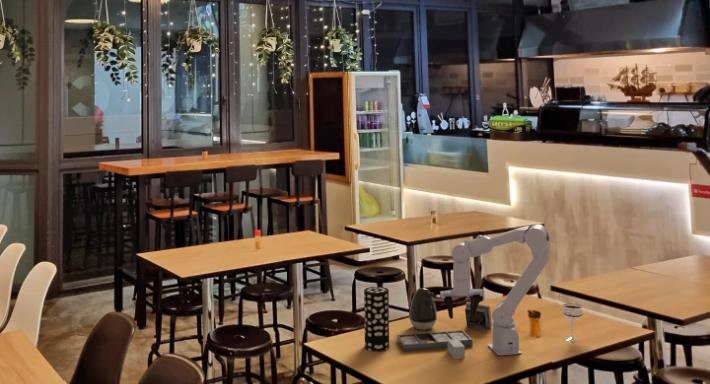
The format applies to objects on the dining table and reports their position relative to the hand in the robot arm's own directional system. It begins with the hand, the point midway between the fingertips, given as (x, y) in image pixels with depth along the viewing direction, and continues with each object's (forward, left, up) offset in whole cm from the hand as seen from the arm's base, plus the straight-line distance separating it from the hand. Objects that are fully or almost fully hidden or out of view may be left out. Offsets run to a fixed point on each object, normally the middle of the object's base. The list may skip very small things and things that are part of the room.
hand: (461, 317), depth 211 cm
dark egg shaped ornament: (+20, +8, -10) cm, 23 cm away
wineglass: (-3, -39, -10) cm, 40 cm away
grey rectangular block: (-8, +5, -10) cm, 14 cm away
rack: (+3, +9, -10) cm, 13 cm away
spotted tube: (+4, +29, -10) cm, 31 cm away
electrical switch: (+16, -12, -10) cm, 22 cm away
